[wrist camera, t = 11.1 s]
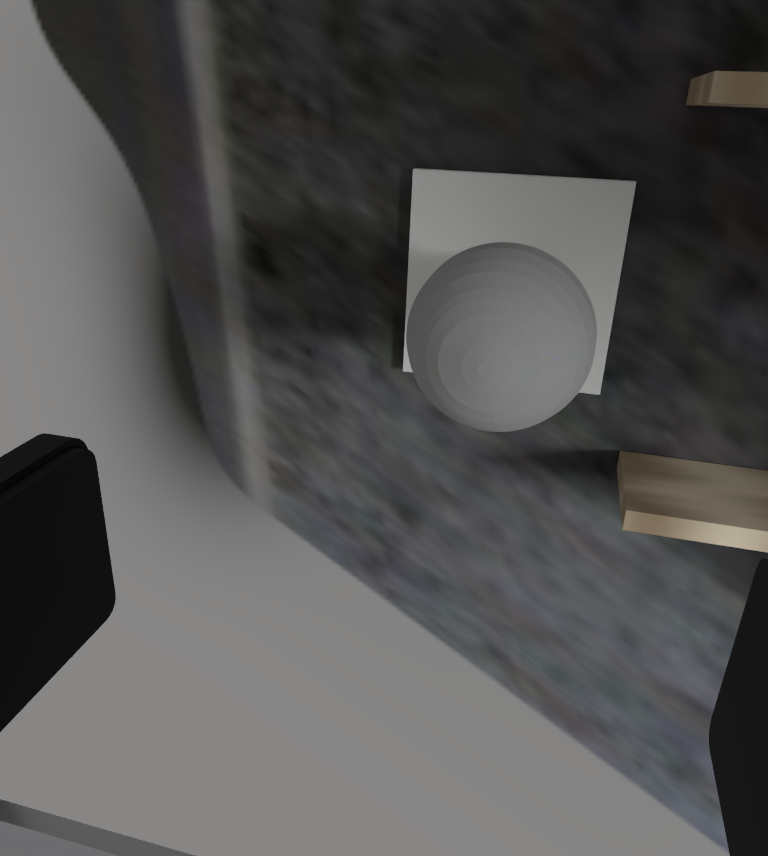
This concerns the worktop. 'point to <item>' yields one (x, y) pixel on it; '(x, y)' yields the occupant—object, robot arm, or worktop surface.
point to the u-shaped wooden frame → (693, 480)
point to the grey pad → (525, 231)
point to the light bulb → (501, 337)
